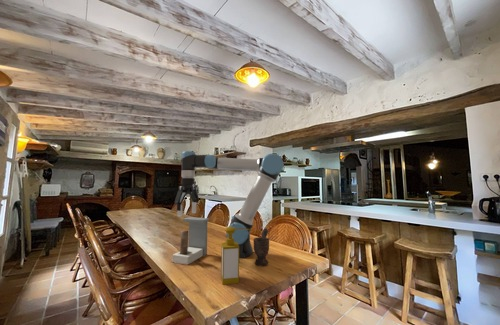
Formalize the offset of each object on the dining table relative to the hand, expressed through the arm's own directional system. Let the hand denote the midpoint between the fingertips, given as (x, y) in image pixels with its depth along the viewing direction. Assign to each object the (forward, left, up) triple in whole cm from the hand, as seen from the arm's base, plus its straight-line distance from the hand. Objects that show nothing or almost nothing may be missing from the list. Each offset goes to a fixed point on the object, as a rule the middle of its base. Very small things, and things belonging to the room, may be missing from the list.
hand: (187, 214), depth 123 cm
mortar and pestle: (-43, -9, -25) cm, 51 cm away
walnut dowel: (+1, +1, -25) cm, 25 cm away
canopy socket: (0, -4, -25) cm, 25 cm away
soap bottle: (-36, +12, -25) cm, 46 cm away
